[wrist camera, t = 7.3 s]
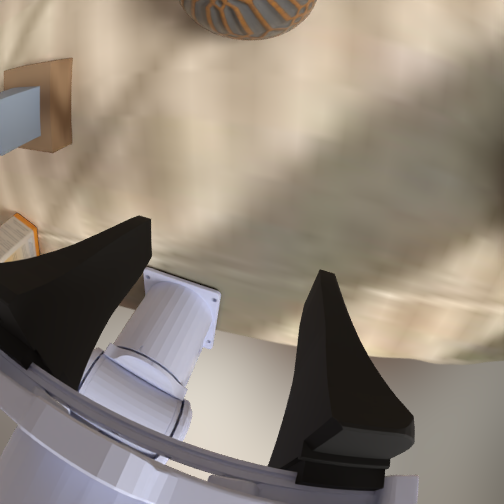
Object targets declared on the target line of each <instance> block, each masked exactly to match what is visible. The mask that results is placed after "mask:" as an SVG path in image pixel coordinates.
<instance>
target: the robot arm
mask: <svg viewBox="0 0 504 504" xmlns="http://www.w3.org/2000/svg"><path fill="white" fill-rule="evenodd" d="M151 257H152V247H151V219H149V218H146V217H142V216H136V217H134V218H131V219H129V220H127V221H124V222H122V223H120V224H118V225H116V226H114V227H112V228H109V229H107V230H105V231H103V232H101V233H99V234H97V235H94V236H92V237H90V238H87V239H85V240H83V241H81V242H78V243H76V244H73V245H71V246H68V247H65V248H62V249H60V250H57V251H54V252H50V253H46V254H43V255H39V256H36V257H32V258H27V259H22V260H17V261H11V262H2V263H0V409H1V410H2V411H3V412H5V413H6V414H7V415H8V416H9V417H10V418H11V419H12V420H13V421H15V422H16V423H17V424H18V426H17V427H16V429H15V431H14V433H13V434H12V436H11V438H10V440H9V442H8V443H7V445H6V447H5V449H4V451H3V453H2V455H1V457H0V504H417V497H418V481H419V476H418V475H391V476H385V469H388V468H389V467H390V459H391V458H393V457H395V456H397V455H399V454H401V453H403V452H405V451H406V450H408V449H409V448H410V447H411V446H412V445H413V444H414V435H415V430H414V429H415V426H414V417H413V415H412V414H411V413H410V412H409V410H408V409H407V408H406V407H405V406H404V405H403V404H402V403H401V401H400V400H399V399H398V398H397V397H396V396H395V394H394V393H393V392H392V391H391V389H390V388H389V387H388V385H387V384H386V382H385V381H384V380H383V378H382V377H381V375H380V374H379V372H378V371H377V369H376V368H375V366H374V364H373V363H372V361H371V360H370V358H369V356H368V354H367V352H366V351H365V349H364V347H363V345H362V343H361V341H360V339H359V337H358V335H357V333H356V330H355V328H354V326H353V323H352V321H351V319H350V316H349V313H348V311H347V308H346V306H345V303H344V300H343V297H342V294H341V291H340V288H339V285H338V282H337V279H336V276H335V274H334V273H330V272H327V271H324V270H319V272H318V275H317V277H316V279H315V282H314V284H313V286H312V288H311V291H310V293H309V295H308V297H307V300H306V302H305V304H304V308H303V313H302V317H301V322H300V327H299V336H298V345H297V354H296V362H295V371H294V377H293V383H292V387H291V391H290V395H289V399H288V403H287V407H286V410H285V414H284V417H283V421H282V424H281V428H280V431H279V434H278V438H277V441H276V444H275V447H274V450H273V453H272V456H271V458H270V461H269V464H268V466H263V465H258V464H254V463H250V462H246V461H243V460H238V459H235V458H232V457H228V456H225V455H221V454H218V453H215V452H211V451H208V450H205V449H202V448H199V447H196V446H193V445H191V444H188V443H185V442H183V440H184V438H185V435H186V434H187V431H188V429H189V426H190V423H191V419H192V410H191V407H190V402H189V401H187V400H185V399H184V397H185V394H186V392H187V388H185V386H186V385H187V382H188V380H189V378H190V376H191V373H192V371H193V369H194V366H195V364H196V362H197V360H198V357H199V355H200V353H201V350H202V348H203V347H205V348H207V349H211V348H212V347H213V342H214V336H215V330H216V324H217V317H218V311H219V305H220V298H221V294H220V292H219V291H217V290H214V289H211V288H208V287H205V286H202V285H199V284H196V283H193V282H190V281H187V280H184V279H181V278H178V277H175V276H172V275H169V274H166V273H163V272H161V271H158V270H155V269H152V268H149V267H146V266H147V264H148V262H149V261H150V259H151ZM142 273H143V274H144V286H145V297H144V298H143V300H142V301H141V303H140V304H139V306H138V307H137V309H136V310H135V312H134V313H133V315H132V316H131V318H130V319H129V321H128V322H127V324H126V325H125V327H124V328H123V330H122V331H121V333H120V334H119V336H118V337H117V339H116V341H115V342H114V343H113V344H112V343H110V344H109V345H108V347H107V348H106V350H105V351H103V350H102V349H100V348H96V349H94V347H95V345H96V343H97V341H98V339H99V337H100V335H101V333H102V331H103V329H104V328H105V326H106V324H107V322H108V320H109V318H110V317H111V315H112V314H113V312H114V311H115V309H116V308H117V307H118V305H119V304H120V303H121V301H122V300H123V299H124V297H125V296H126V295H127V293H128V292H129V291H130V289H131V288H132V287H133V285H134V284H135V283H136V281H137V280H138V279H139V277H140V276H141V275H142ZM214 298H215V299H214ZM57 401H58V402H59V403H58V402H57ZM169 459H171V460H173V461H176V462H179V463H182V464H184V465H187V466H190V467H193V468H196V469H199V470H202V471H205V472H208V473H211V474H215V475H211V476H209V478H208V481H204V480H202V479H199V478H196V477H194V476H191V475H188V474H186V473H183V472H181V471H179V470H176V469H174V468H171V467H169V466H167V465H165V464H166V462H167V461H168V460H169ZM216 475H218V476H216Z"/></svg>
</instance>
